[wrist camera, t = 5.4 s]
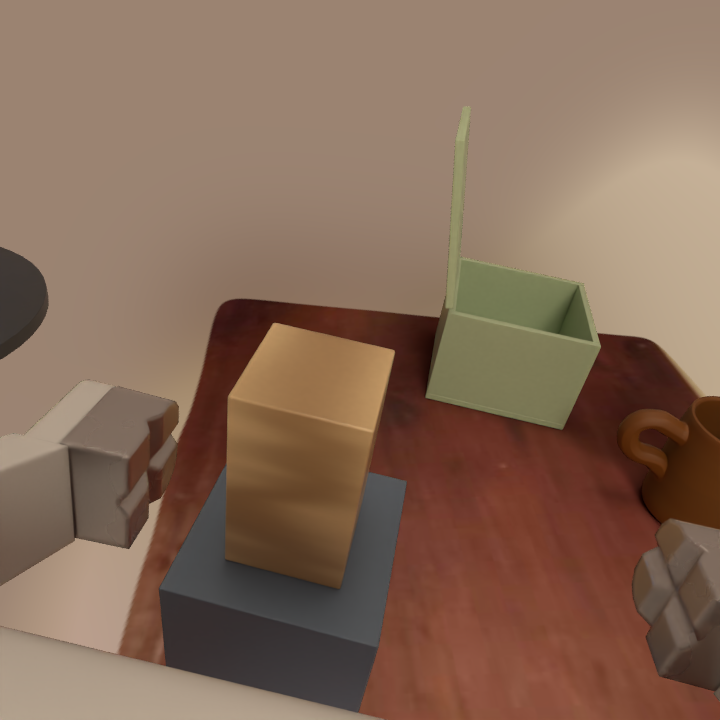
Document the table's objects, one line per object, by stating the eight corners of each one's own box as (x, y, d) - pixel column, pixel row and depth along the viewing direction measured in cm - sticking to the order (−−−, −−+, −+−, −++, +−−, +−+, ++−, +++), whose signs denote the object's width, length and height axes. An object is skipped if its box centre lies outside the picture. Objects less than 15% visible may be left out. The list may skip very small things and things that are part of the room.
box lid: (471, 106, 53) (463, 106, 53) (465, 139, 43) (455, 139, 43) (460, 252, 60) (453, 251, 61) (453, 309, 51) (445, 308, 51)
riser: (174, 762, 29) (158, 588, 21) (232, 617, 36) (239, 439, 27) (329, 807, 29) (378, 647, 20) (360, 651, 35) (407, 480, 27)
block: (223, 560, 22) (226, 396, 17) (262, 475, 26) (273, 321, 21) (340, 590, 22) (374, 432, 17) (362, 500, 25) (395, 349, 21)
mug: (594, 523, 46) (644, 437, 41) (580, 457, 53) (622, 374, 47) (747, 557, 46) (819, 474, 40) (715, 486, 52) (773, 405, 47)
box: (552, 359, 65) (583, 283, 60) (562, 430, 55) (601, 347, 50) (435, 332, 66) (456, 255, 61) (425, 397, 56) (448, 312, 51)
